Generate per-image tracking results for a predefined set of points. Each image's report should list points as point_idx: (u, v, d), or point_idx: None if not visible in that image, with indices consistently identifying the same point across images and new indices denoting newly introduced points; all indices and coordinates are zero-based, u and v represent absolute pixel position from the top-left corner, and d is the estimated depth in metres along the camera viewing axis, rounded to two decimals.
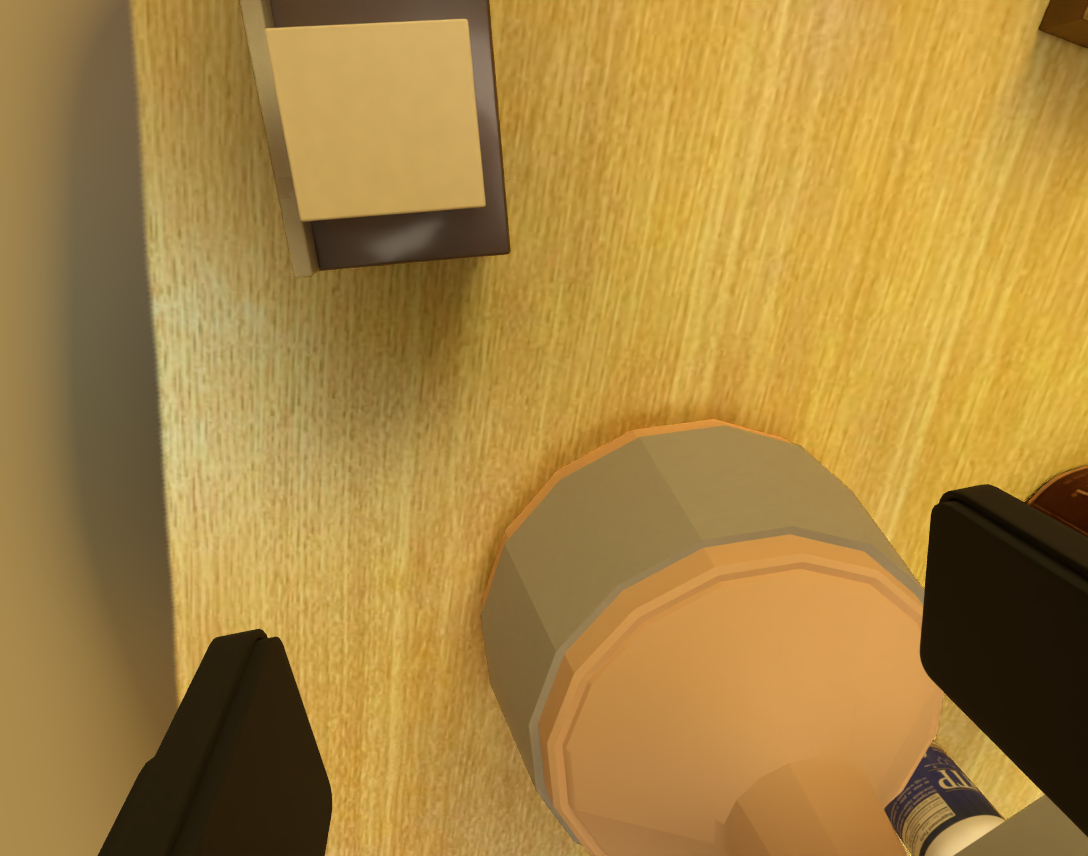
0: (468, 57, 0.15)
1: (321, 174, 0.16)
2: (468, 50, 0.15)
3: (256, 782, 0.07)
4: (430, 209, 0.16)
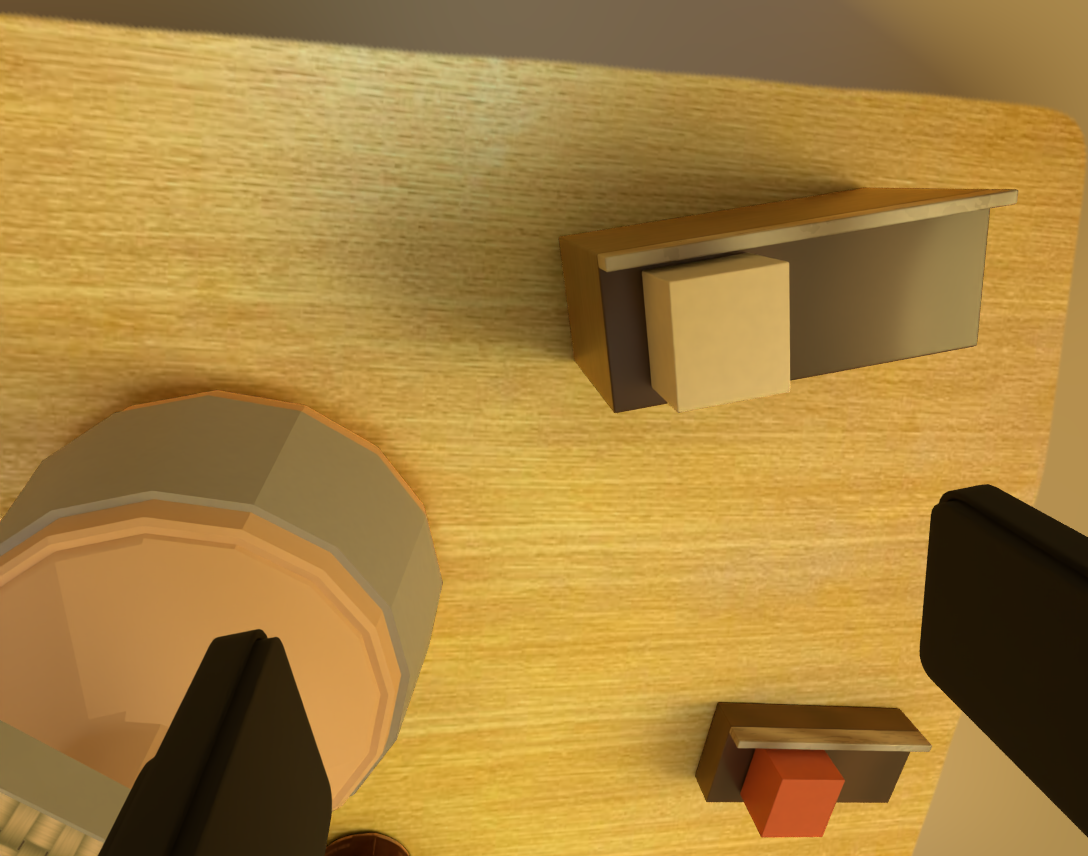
0: (769, 394, 0.23)
1: (700, 298, 0.21)
2: (773, 394, 0.23)
3: (256, 782, 0.07)
4: (676, 375, 0.22)
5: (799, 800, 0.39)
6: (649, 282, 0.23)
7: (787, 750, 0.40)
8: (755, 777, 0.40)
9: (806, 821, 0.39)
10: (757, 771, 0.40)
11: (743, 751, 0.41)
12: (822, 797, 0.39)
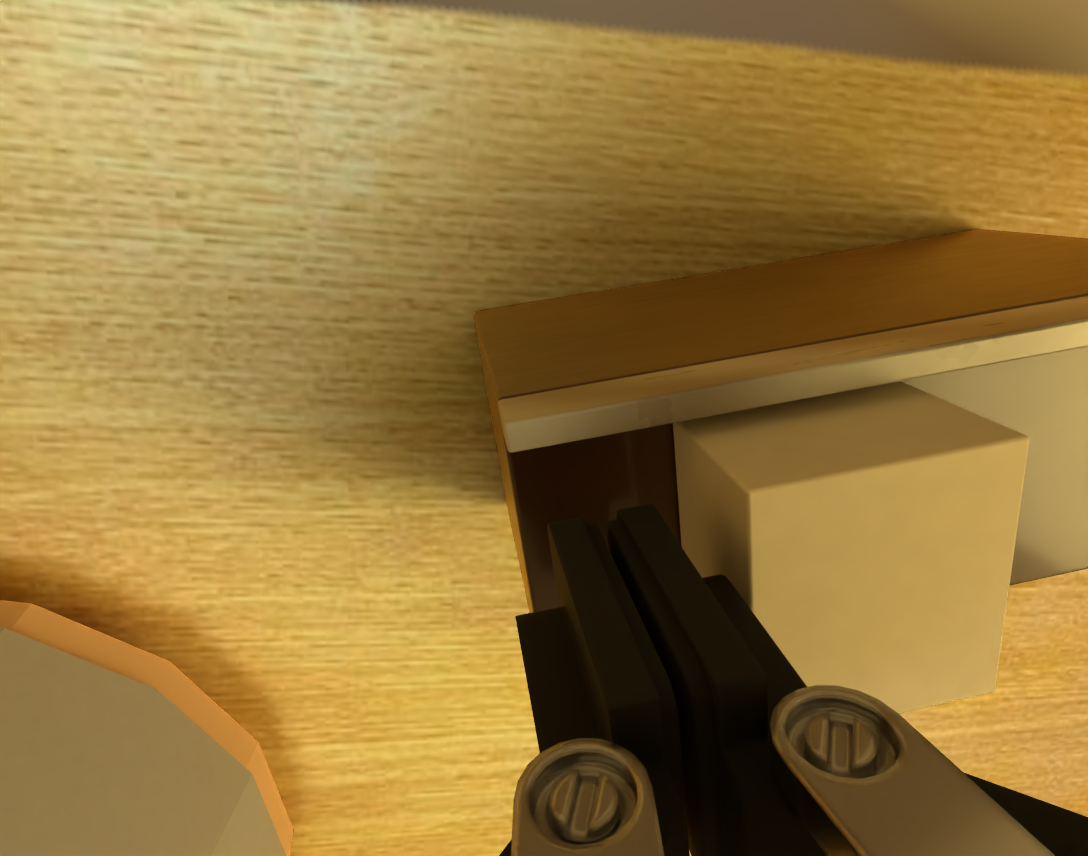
0: (951, 699, 0.10)
1: (819, 521, 0.09)
2: (959, 699, 0.10)
3: None
4: None
5: None
6: (690, 451, 0.11)
7: None
8: None
9: None
10: None
11: None
12: None
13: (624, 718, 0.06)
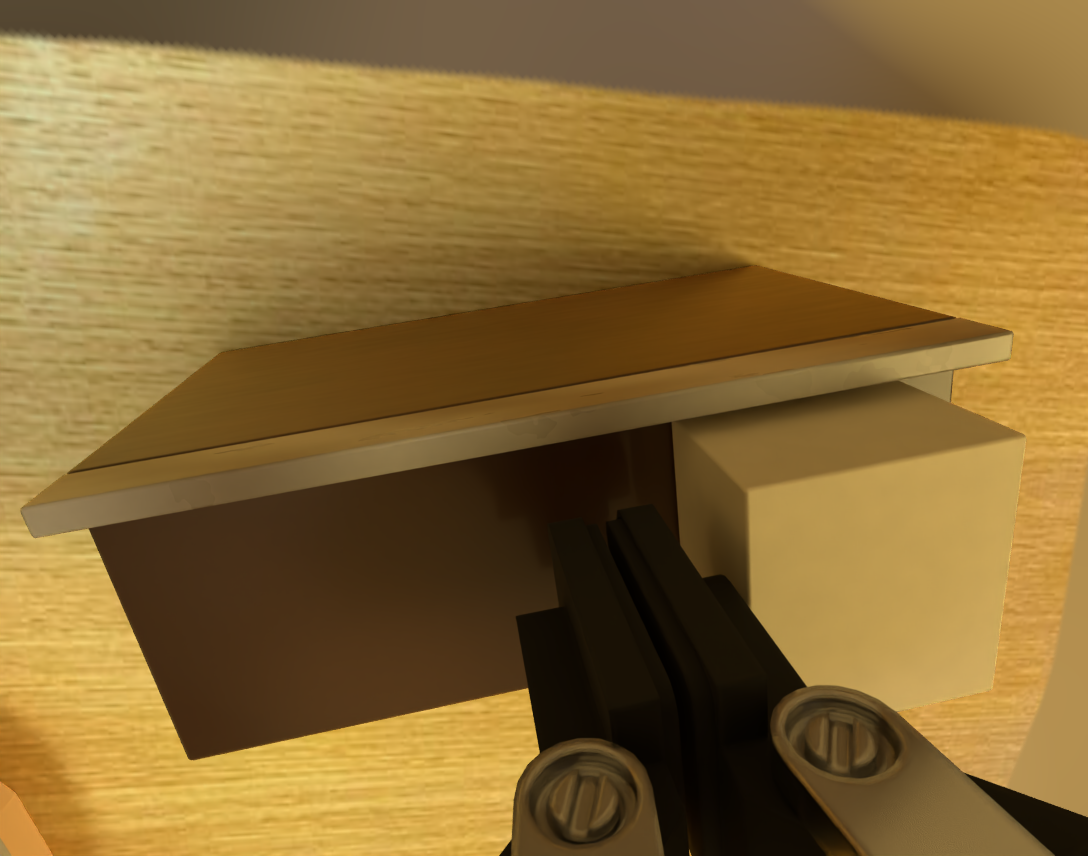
0: (948, 698, 0.10)
1: (818, 520, 0.09)
2: (957, 697, 0.11)
3: None
4: None
5: None
6: (689, 450, 0.11)
7: None
8: None
9: None
10: None
11: None
12: None
13: (624, 718, 0.06)
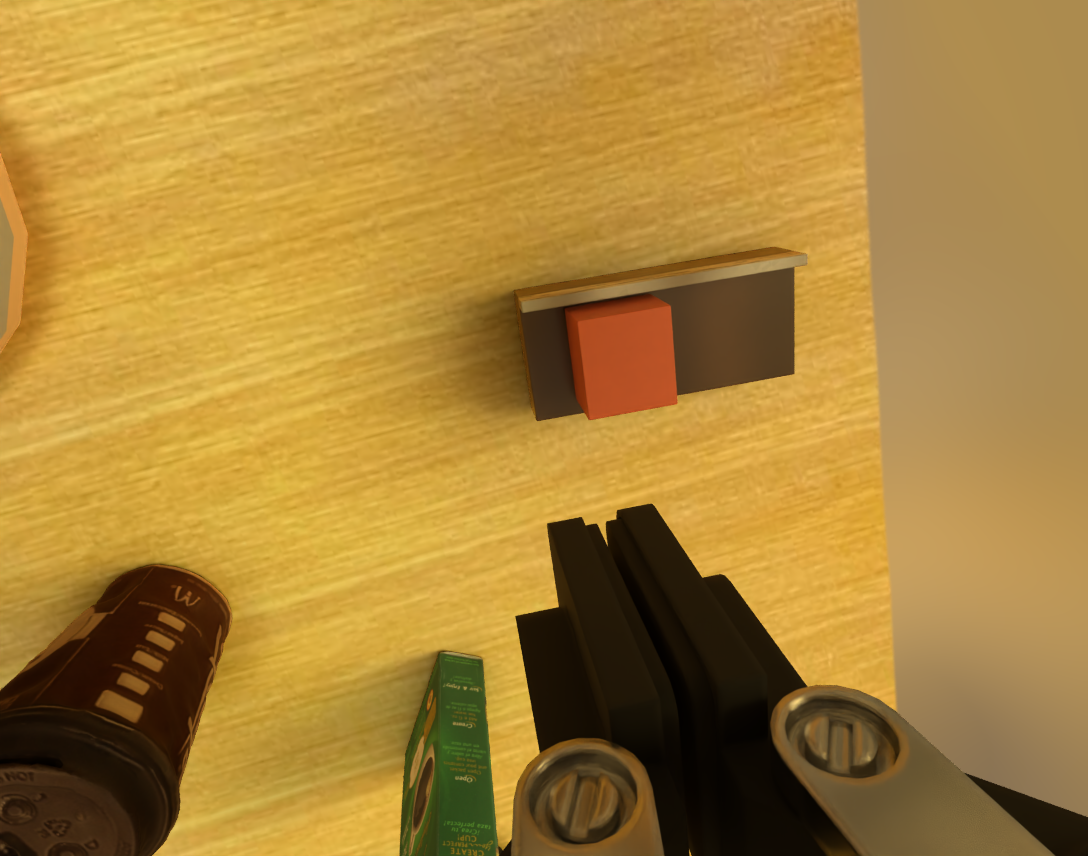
0: None
1: None
2: None
3: None
4: None
5: (617, 351, 0.28)
6: None
7: (600, 306, 0.30)
8: (573, 358, 0.30)
9: (642, 382, 0.29)
10: (572, 348, 0.30)
11: (553, 333, 0.31)
12: (649, 339, 0.28)
13: (624, 718, 0.06)
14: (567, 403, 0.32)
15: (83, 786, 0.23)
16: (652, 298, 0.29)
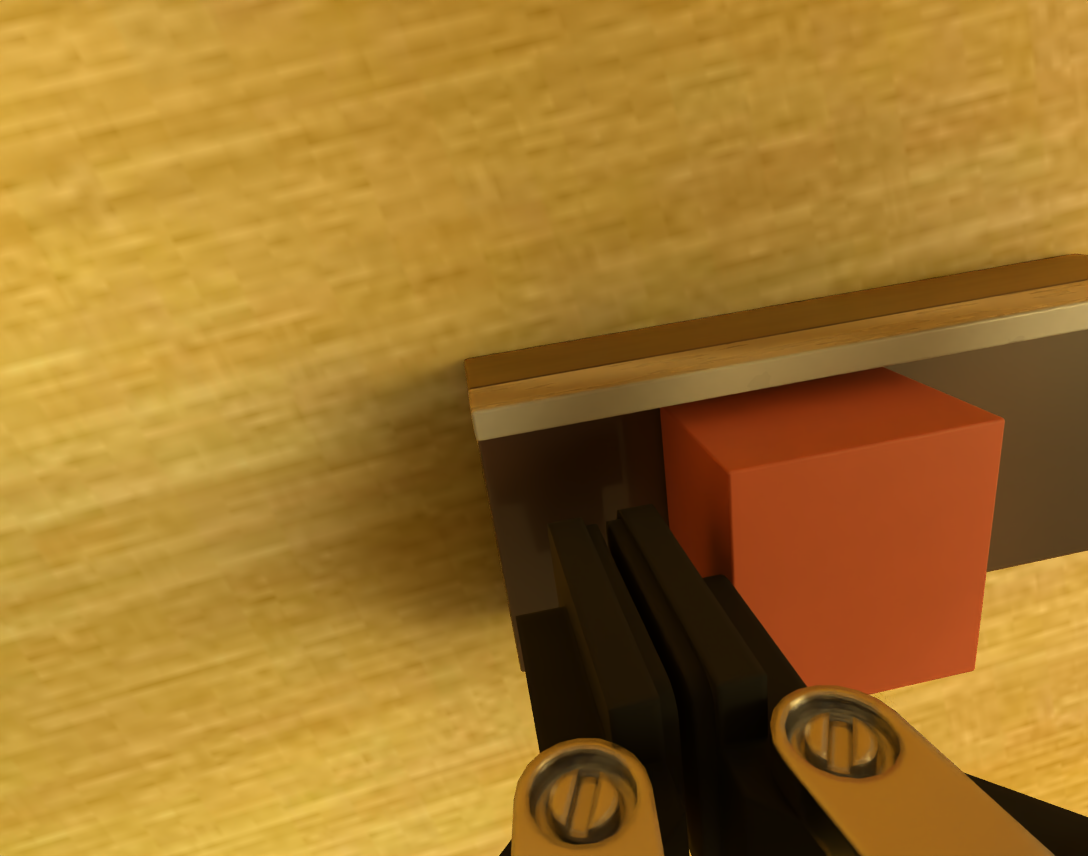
0: None
1: None
2: None
3: None
4: None
5: (835, 549, 0.10)
6: None
7: (762, 403, 0.11)
8: (682, 533, 0.12)
9: (893, 625, 0.10)
10: (680, 508, 0.11)
11: (562, 476, 0.12)
12: (929, 515, 0.10)
13: (624, 718, 0.06)
14: None
15: None
16: (904, 382, 0.11)
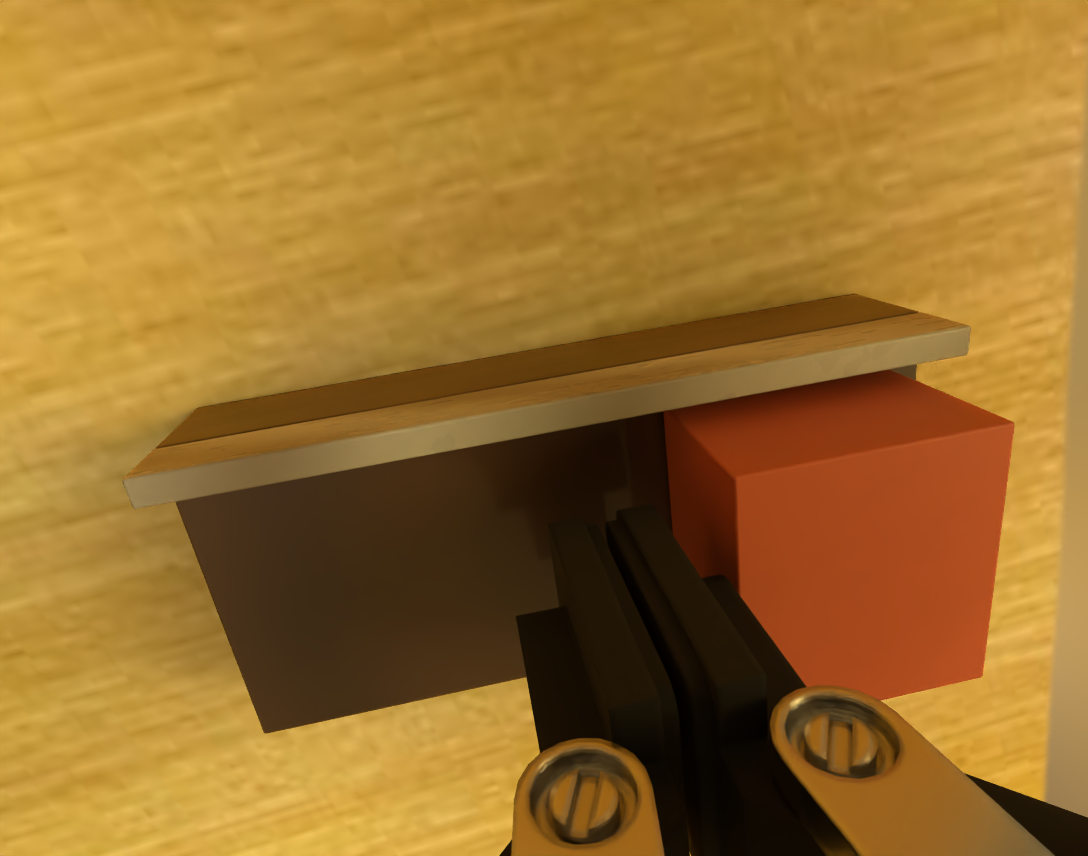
0: None
1: None
2: None
3: None
4: None
5: (843, 555, 0.09)
6: None
7: (766, 406, 0.11)
8: (686, 538, 0.11)
9: (900, 631, 0.10)
10: (684, 513, 0.11)
11: (275, 536, 0.11)
12: (937, 520, 0.09)
13: (624, 718, 0.06)
14: (339, 691, 0.13)
15: None
16: (911, 385, 0.11)
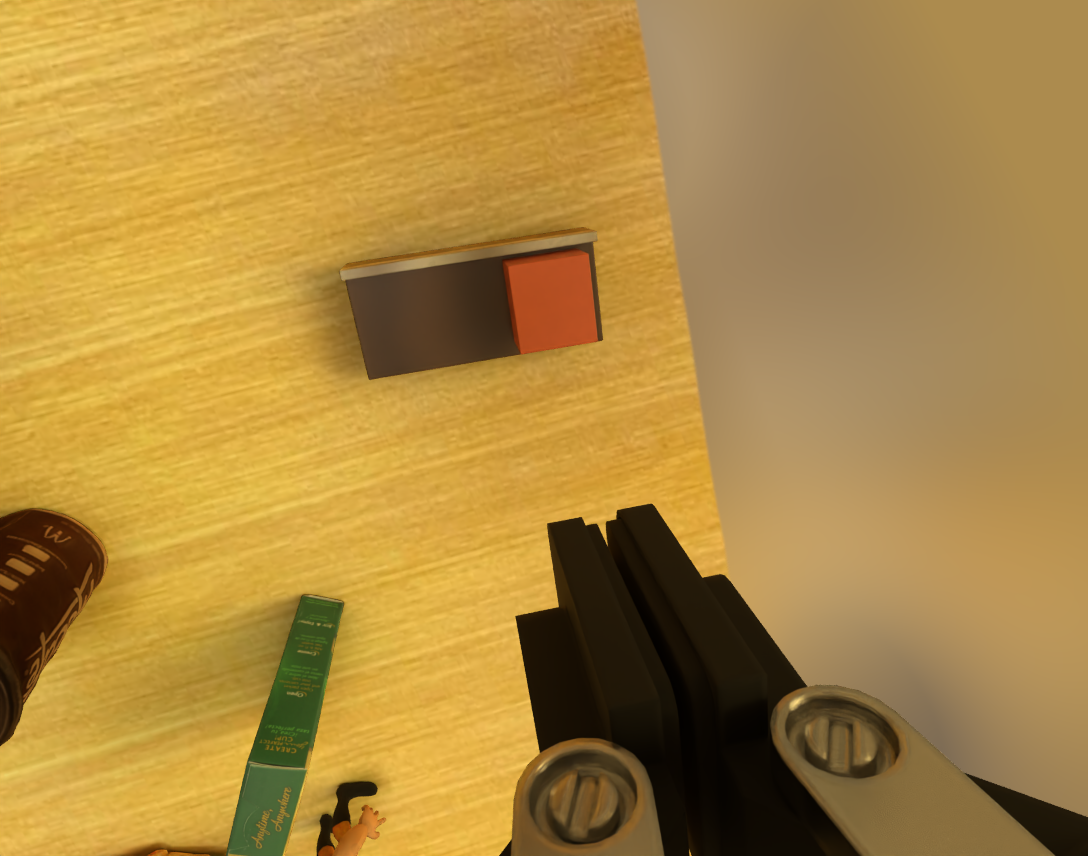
0: None
1: None
2: None
3: None
4: None
5: (543, 293, 0.33)
6: None
7: (531, 257, 0.34)
8: (509, 303, 0.35)
9: (566, 321, 0.34)
10: (508, 294, 0.35)
11: (377, 300, 0.35)
12: (570, 283, 0.33)
13: (623, 718, 0.06)
14: (395, 364, 0.36)
15: None
16: (576, 250, 0.34)
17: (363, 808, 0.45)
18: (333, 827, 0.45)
